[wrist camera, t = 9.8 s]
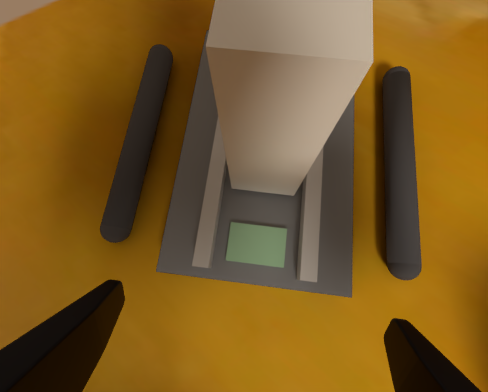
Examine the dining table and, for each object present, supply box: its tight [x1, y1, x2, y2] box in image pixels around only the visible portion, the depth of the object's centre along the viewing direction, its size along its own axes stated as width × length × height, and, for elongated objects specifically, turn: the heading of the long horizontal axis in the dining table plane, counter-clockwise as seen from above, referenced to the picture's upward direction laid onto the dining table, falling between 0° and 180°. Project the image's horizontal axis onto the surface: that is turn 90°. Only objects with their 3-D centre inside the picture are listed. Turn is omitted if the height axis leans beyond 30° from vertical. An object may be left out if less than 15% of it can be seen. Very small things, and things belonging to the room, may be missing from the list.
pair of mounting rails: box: [100, 44, 421, 280], centre depth 16 cm, size 14×18×2 cm
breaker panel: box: [156, 30, 354, 298], centre depth 16 cm, size 16×10×2 cm, turn 173°
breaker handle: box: [206, 0, 373, 196], centre depth 10 cm, size 2×3×10 cm
